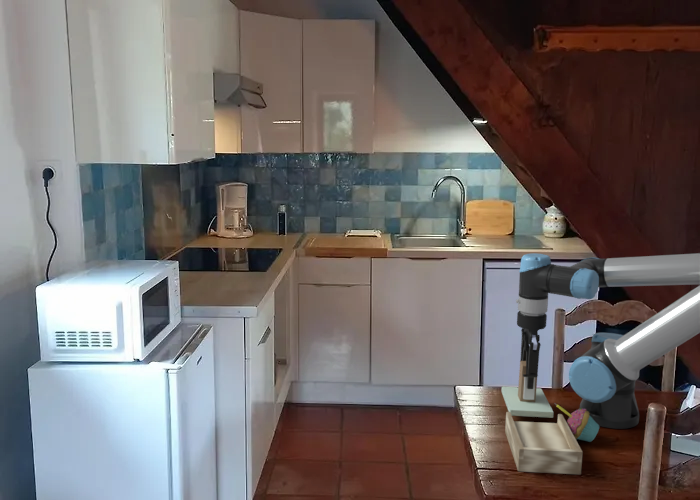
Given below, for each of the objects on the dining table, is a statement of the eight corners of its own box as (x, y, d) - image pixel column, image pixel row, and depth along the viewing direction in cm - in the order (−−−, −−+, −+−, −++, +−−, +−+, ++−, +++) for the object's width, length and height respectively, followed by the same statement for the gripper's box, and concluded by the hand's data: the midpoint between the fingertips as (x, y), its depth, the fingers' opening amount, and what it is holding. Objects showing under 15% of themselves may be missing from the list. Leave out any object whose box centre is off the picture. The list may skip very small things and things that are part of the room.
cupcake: (604, 412, 167) (560, 388, 170) (602, 432, 160) (557, 406, 162) (586, 435, 171) (544, 411, 174) (584, 455, 164) (539, 429, 166)
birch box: (560, 434, 170) (562, 414, 169) (580, 474, 151) (582, 452, 150) (505, 431, 171) (506, 411, 170) (518, 471, 152) (519, 449, 151)
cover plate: (540, 393, 188) (543, 354, 186) (553, 417, 172) (556, 375, 170) (501, 391, 189) (503, 352, 187) (510, 415, 173) (513, 373, 171)
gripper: (512, 303, 184) (508, 382, 189) (523, 321, 168) (518, 408, 172) (540, 304, 184) (535, 384, 188) (553, 321, 167) (547, 409, 171)
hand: (526, 395), depth 180 cm, fingers closed on cover plate, 4 cm apart
